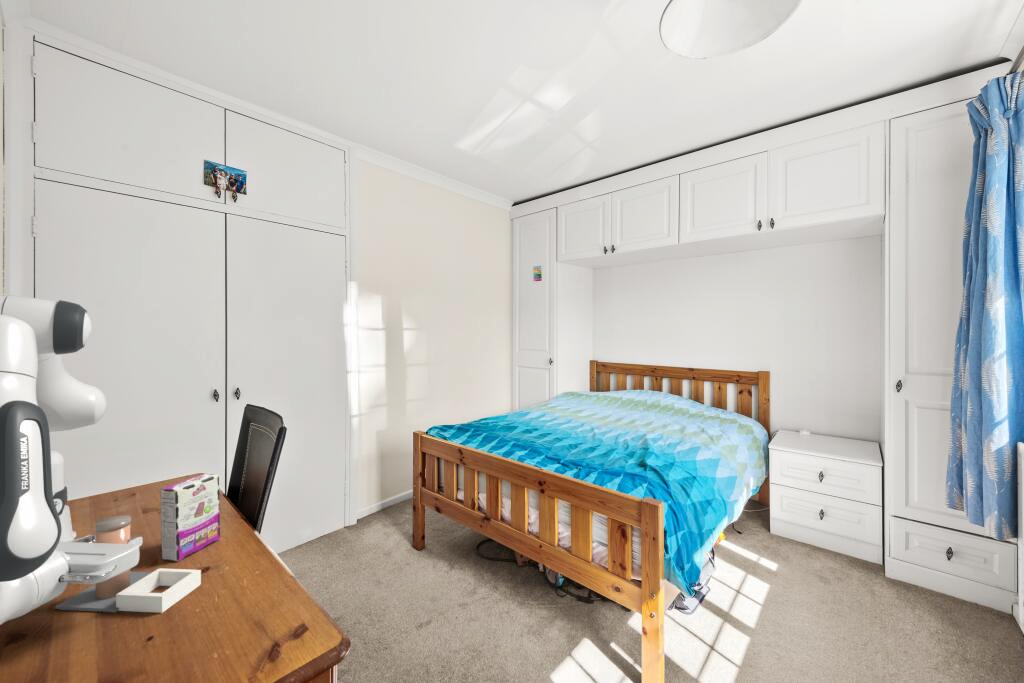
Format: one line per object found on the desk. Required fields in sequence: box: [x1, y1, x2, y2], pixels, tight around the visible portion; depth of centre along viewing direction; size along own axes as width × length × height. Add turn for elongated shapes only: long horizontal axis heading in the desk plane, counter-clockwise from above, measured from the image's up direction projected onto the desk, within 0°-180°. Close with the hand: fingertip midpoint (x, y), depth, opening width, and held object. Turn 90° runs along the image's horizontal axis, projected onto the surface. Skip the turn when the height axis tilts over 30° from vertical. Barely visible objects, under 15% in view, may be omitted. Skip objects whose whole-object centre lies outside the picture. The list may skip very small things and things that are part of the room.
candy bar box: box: [160, 473, 221, 562], centre depth 101 cm, size 11×5×16 cm, turn 168°
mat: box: [54, 570, 152, 613], centre depth 85 cm, size 12×12×1 cm
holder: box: [116, 567, 202, 614], centre depth 83 cm, size 9×9×3 cm
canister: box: [94, 514, 132, 600], centre depth 84 cm, size 5×5×14 cm
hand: (116, 539), depth 84 cm, fingers open, 8 cm apart
